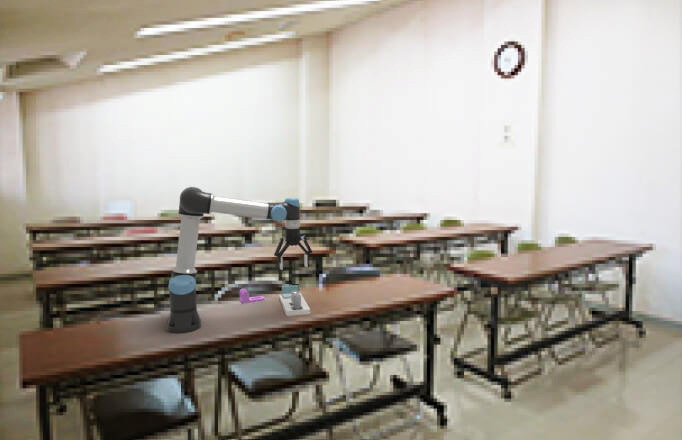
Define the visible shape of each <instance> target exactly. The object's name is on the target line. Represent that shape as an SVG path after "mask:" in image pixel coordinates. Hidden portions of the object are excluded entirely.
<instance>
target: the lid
mask: <svg viewBox="0 0 682 440" xmlns="http://www.w3.org/2000/svg"><path fill="white" fill-rule="evenodd" d="M299 287H300V286H299V284H298V285H297V284H296V285H282V286H281V296H282V298H283V299H285V298H291V291H299V289H300V288H299ZM299 295H300V294H299Z"/></svg>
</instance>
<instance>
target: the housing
mask: <svg viewBox="0 0 682 440" xmlns="http://www.w3.org/2000/svg"><path fill="white" fill-rule="evenodd" d="M299 294H300V295H293V306H291V298H283V296H282V294H278V295H279V296H278V297H279V298H278V299H279V301H280V304H281V306H282V309H283V311H284V314H285V316H286V317H291V316H292V317H293V316H304V315H310V314H311V308H310V306H309V305H308V303H307V302H306V301H307V300H305V298H304V296H303V294H302V293H301V292H299Z"/></svg>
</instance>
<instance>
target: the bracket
mask: <svg viewBox="0 0 682 440" xmlns="http://www.w3.org/2000/svg"><path fill="white" fill-rule="evenodd" d="M263 300H264V301H265V296H263V295H259V296H250V292H249V291H247V289H245V288H241V289H240V290H239V302H240V301H241V302H240V303H241V304H243V305H244V303H245V304H250V302H252V303H257V302H256V301H259V302H263Z"/></svg>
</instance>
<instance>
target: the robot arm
mask: <svg viewBox="0 0 682 440" xmlns="http://www.w3.org/2000/svg"><path fill="white" fill-rule="evenodd" d="M179 195H180V196H179V203H178V204H179V206H178V215H179V217H180V226H179V235H178V243H177V244H178V246H177V251H176V252H177V255H176V261H175V262H176V263H175V266H174V267H173V268H172V270H171V278H170V279H169V281H168V292H169V295H168V296H169V309H170V310H169V311H170V313H169V315H168V321H167V324H166V329H168V330H167V331H168V332H170V331H171V332H170V333H175V332H177V334H179V333H180V334H181V333H190V332H192V331H196V330H199V328H201V327H202V319H201V316H200V314H199V312H198V309H197V308H198V307H197V290H196V289H197V276H198V270H197V269H196V268H195V264H196V256H197V255H196V254H197V245H198V241H199V239H198V238H199V230H200V220H201V219H203V218H204V214H206V215H210V214H212V213H214V214H216V213H217V214H225V215H230V216H231V215H232V216H240V217H248V218H256V219H263V220H264V219H265V220H271V221H272V220H273V221H276V222H282V221H285V223H284V224H285V238H284V237H280V238H279V242H278V244H277V247H276V249H275V251H274V253H273V256H274V257H277V263H278V264H279V270H281V271H282V270H283V268H284V264H283V257H282V256H283V255H284V253H285V252H286V250H288V248H289V247H292V246H293V247H294V246H295V247H296V246H298V247H299V248H300V249H301V250H302V251H303V252H304V255H303V261H304V262H303V264H304V265H303V266H304V267H305V268H308V261H309V260H310V254H312V253H313V250H312V248H311V246H310V244H309V242H308V239H307V236H306V235H303V236H301V228H300V227H301V218H300V217H301V213H300V211H301V210H300V208H301V207H300V206H301V205H300V199H299V198H298V197H286V198H285V199H284V201H283V202H260V201H252V200H245V199H238V198H230V197H224V196H216V195H214V193H211V192H205V191H203V190H202V189H200V188H198V187H195V186H189V187H186V188H185V189H183V190H182V191H181V193H180V194H179ZM301 241H303V242H302V243H304V245H305V246H304V245H303V244H302V243H301ZM284 242H285V244H284ZM283 244H284V246H283ZM305 247H306V248H305Z"/></svg>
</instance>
